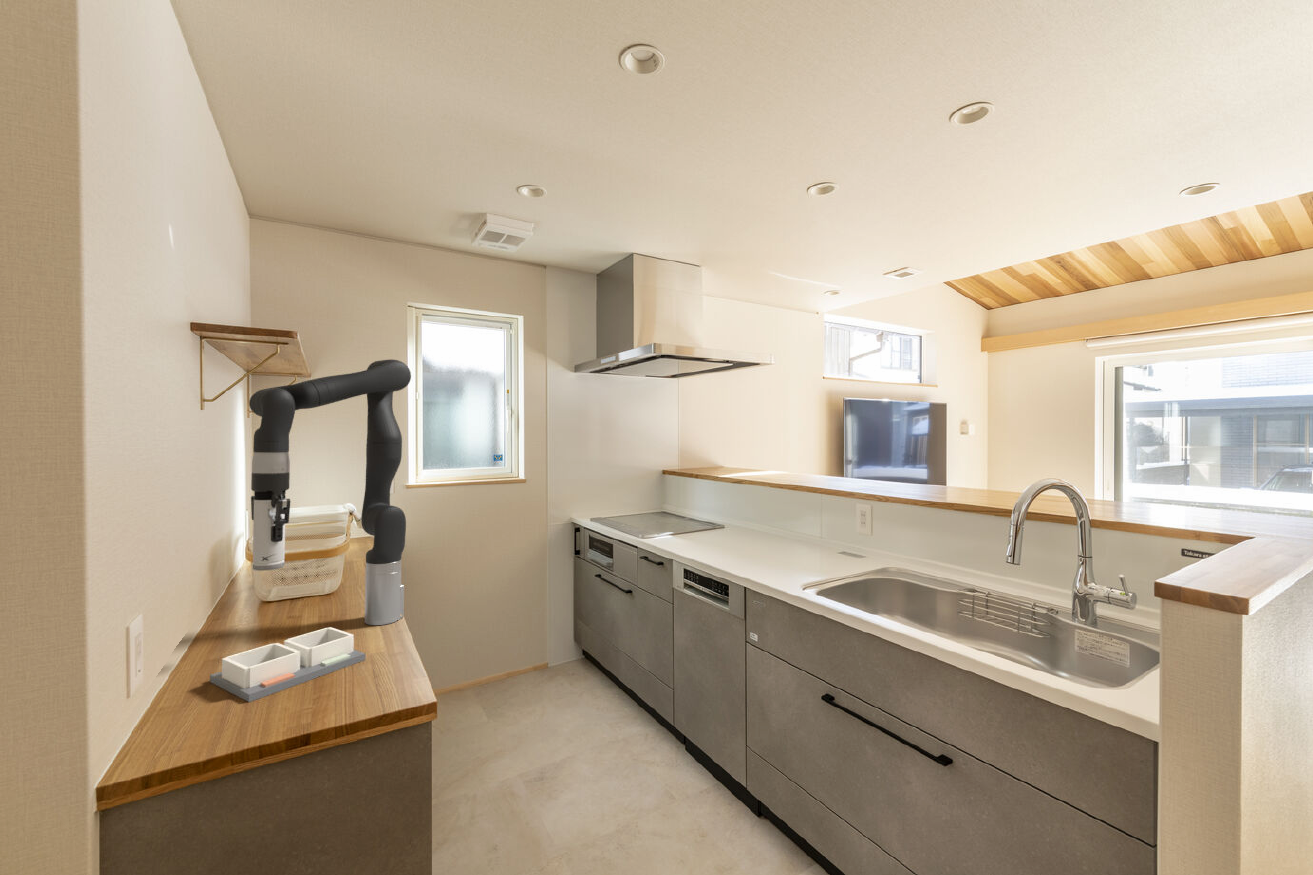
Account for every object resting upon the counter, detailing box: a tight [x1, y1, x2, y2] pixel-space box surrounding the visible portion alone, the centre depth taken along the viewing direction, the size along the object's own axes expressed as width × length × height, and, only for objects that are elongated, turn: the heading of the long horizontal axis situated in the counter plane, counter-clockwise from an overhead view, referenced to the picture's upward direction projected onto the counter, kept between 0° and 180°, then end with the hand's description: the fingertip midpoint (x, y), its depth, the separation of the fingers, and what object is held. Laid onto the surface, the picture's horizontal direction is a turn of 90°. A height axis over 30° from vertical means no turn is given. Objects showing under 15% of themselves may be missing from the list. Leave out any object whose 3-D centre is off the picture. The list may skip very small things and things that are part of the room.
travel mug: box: [252, 490, 287, 572], centre depth 130 cm, size 6×7×20 cm
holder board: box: [209, 626, 366, 703], centre depth 122 cm, size 24×17×6 cm
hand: (269, 539), depth 130 cm, fingers closed on travel mug, 6 cm apart
